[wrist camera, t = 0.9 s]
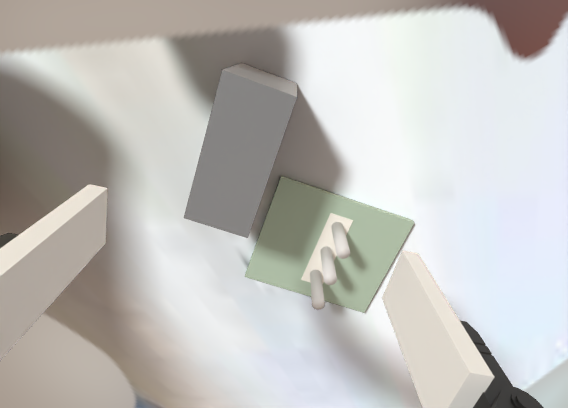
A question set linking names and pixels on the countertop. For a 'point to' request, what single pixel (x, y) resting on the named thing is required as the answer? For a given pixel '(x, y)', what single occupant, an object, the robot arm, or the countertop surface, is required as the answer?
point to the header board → (326, 245)
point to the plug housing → (240, 147)
